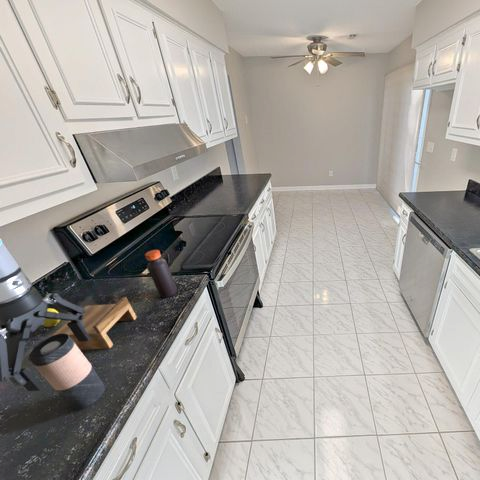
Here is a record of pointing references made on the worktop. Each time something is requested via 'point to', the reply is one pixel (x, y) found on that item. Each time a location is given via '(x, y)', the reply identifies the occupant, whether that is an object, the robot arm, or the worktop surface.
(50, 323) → the lemon
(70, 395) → the travel mug
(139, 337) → the worktop surface
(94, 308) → the shelf
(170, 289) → the bottle
